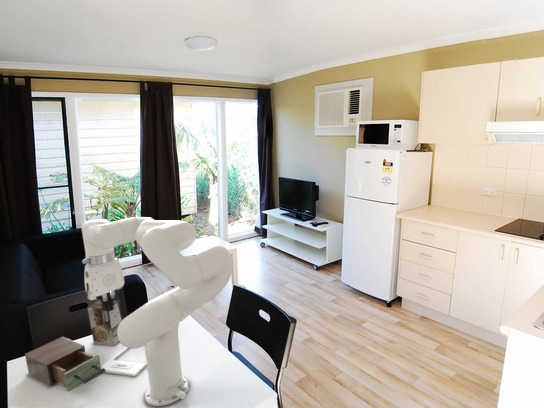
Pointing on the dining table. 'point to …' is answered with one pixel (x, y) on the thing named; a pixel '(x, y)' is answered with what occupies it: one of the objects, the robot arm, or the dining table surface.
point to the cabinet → (50, 358)
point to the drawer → (76, 369)
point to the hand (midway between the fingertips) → (108, 309)
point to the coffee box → (104, 323)
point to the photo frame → (122, 366)
